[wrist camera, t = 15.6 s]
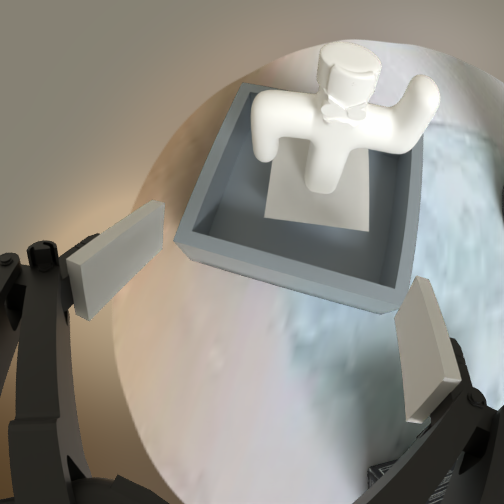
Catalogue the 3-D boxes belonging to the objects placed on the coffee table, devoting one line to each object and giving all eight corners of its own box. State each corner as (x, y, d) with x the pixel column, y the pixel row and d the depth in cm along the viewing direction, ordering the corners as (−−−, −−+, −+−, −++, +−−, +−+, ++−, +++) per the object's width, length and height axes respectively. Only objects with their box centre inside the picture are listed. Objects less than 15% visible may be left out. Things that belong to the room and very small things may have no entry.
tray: (404, 160, 28) (423, 130, 23) (380, 314, 24) (405, 307, 19) (246, 117, 30) (242, 82, 25) (190, 259, 26) (173, 240, 21)
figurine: (263, 155, 27) (255, 7, 13) (369, 170, 26) (432, 38, 12) (250, 233, 25) (228, 99, 11) (368, 249, 24) (465, 140, 10)
